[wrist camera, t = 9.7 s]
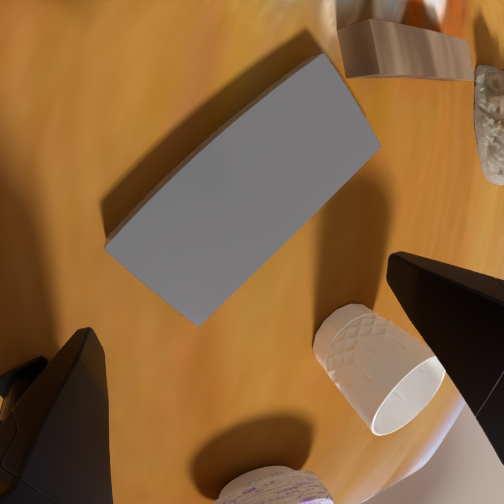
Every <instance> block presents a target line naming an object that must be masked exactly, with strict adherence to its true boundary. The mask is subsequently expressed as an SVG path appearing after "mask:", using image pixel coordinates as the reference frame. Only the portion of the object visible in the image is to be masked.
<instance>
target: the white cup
mask: <svg viewBox="0 0 504 504" xmlns="http://www.w3.org/2000/svg"><path fill="white" fill-rule="evenodd" d="M313 351H314V354H315V356H316V359H317V360H318V362H319V363H320V364H321V365H322V367H323V368H324V369H325V370H326V372H327V373H328V375H329V377H330V378H331V380H332V381H333V382H334V384H335V385H336V386H337V387H338V389H339V390H340V392H341V393H342V394H343V396H344V397H345V398H346V400H347V401H348V402H349V403H350V405H351V406H352V407H353V408H354V410H355V411H356V412H357V413H358V415H359V416H360V417H361V418H362V420H363V421H364V422H365V423H366V425H367V426H368V427H369V428H370V430H371V431H372V432H373V433H374V434H375V435H386V434H389V433H392V432H394V431H396V430H398V429H399V428H401V427H403V426H404V425H405V424H407V423H408V422H409V421H411V420H412V419H413V418H414V417H415V416H416V415H417V414H419V413H420V412H421V411H422V409H423V408H424V407H425V406H426V405H427V404H428V403H429V401H430V400H431V399H432V397H433V396H434V395H435V393H436V392H437V390H438V388H439V386H440V385H441V383H442V380H443V378H444V375H445V372H446V371H445V369H444V368H443V366H442V365H441V363H440V362H439V360H438V359H437V357H436V356H435V355H434V353H433V352H432V350H431V349H430V347H429V346H428V345H426V344H425V343H423V342H422V341H420V340H419V339H417V338H416V337H414V336H413V335H411V334H410V333H408V332H407V331H405V330H404V329H402V328H400V327H399V326H397V325H395V324H394V323H392V322H391V321H389V320H388V319H385V318H383V317H381V316H379V315H378V314H376V313H375V312H373V311H372V310H370V309H369V308H367V307H366V306H364V305H362V304H348V305H346V306H343V307H341V308H338V309H337V310H335V311H334V312H333V313H332V314H331V315H330V316H329V317H327V318H326V319H325V320H324V321H323V323H322V325H321V326H320V328H319V330H318V331H317V333H316V335H315V339H314V344H313Z"/></svg>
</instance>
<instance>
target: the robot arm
mask: <svg viewBox="0 0 504 504" xmlns="http://www.w3.org/2000/svg"><path fill="white" fill-rule="evenodd" d="M386 279H387V282H388V285H389V286H390V288H391V289H392V291H393V293H394V294H395V296H396V298H397V299H398V301H399V303H400V304H401V306H402V308H403V309H404V311H405V313H406V314H407V316H408V318H409V319H410V321H411V322H412V324H413V325H414V326H415V328H416V329H417V331H418V332H419V333H420V335H421V336H422V337H423V339H424V340H425V342H426V343H427V345H428V346H429V347H430V349H431V350H432V352H433V353H434V355H435V356H436V357H437V359H438V360H439V362H440V363H441V365H442V366H443V368H444V369H445V371H446V372H447V374H448V375H449V377H450V378H451V380H452V381H453V383H454V384H455V386H456V387H457V389H458V390H459V392H460V393H461V395H462V397H463V398H464V400H465V401H466V403H467V404H468V406H469V408H470V409H471V411H472V412H473V414H474V416H476V419H477V421H478V422H479V424H480V426H481V427H482V429H483V431H484V432H485V434H486V436H487V438H488V439H489V441H490V443H491V445H492V446H493V448H494V450H495V452H496V453H497V455H498V457H499V459H500V461H501V462H502V464H503V465H504V280H501V279H498V278H496V279H495V278H494V277H491V276H488V275H485V274H481V273H478V272H474V271H471V270H467V269H464V268H461V267H457V266H454V265H450V264H447V263H443V262H439V261H436V260H432V259H429V258H425V257H421V256H418V255H414V254H410V253H407V252H403V251H399V252H396V253H392V254H391V255H390V256H389V258H388V266H387V274H386ZM40 363H43V364H44V365H42V364H40ZM0 396H1V397H2V398H3V402H2V405H1V409H0V504H113V496H112V485H111V471H110V452H109V400H108V389H107V378H106V365H105V354H104V350H103V348H102V346H101V344H100V342H99V340H98V338H97V336H96V334H95V332H94V330H93V329H92V328H90V327H87V328H82V329H78V330H77V331H76V332H75V333H74V334H73V335H72V337H71V338H70V339H69V340H68V341H67V342H66V344H65V345H64V346H63V347H62V348H61V349H60V351H59V352H58V353H57V354H56V355H55V356H54V358H53V359H52V360H51V361H50V362H48V361H47V360H46V359H45V358H43V357H38V358H36V359H34V360H32V361H30V362H28V363H26V364H24V365H22V366H20V367H18V368H16V369H14V370H12V371H10V372H8V373H6V374H4V375H2V376H0Z"/></svg>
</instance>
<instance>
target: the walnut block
mask: <svg viewBox="0 0 504 504" xmlns="http://www.w3.org/2000/svg"><path fill="white" fill-rule="evenodd" d="M337 33H338V38H339V43H340V48H341V53H342V58H343V63H344V68H345V74H346V79H348V78H405V79H426V80H440V81H475V80H474V73H473V67H472V61H471V55H470V50H469V44H468V41H467V40H464V39H461V38H457V37H454V36H450V35H447V34H443V33H439V32H435V31H431V30H427V29H423V28H418V27H414V26H409V25H404V24H399V23H393V22H387V21H381V20H374V19H367V20H364V21H361V22H358V23H355V24H352V25H349V26H346V27H343V28H340V29H338V30H337Z"/></svg>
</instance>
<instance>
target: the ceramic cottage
mask: <svg viewBox="0 0 504 504" xmlns="http://www.w3.org/2000/svg"><path fill="white" fill-rule="evenodd" d="M475 72H476V73H475V78H476V80H475V83H476V86H475V89H474V90H475V92H474V95H475V98H474V100H475V101H474V102H475V105H474V108H475V109H474V120H475V121H474V123H475V131H476V132H475V133H476V138H477V143H478V145H477V147H478V153H479V159H480V162H481V168H482V171H483V173H484V175H485V176H486V178H487V179H488V180H489V181H490V182H491V183H493V184H497V185H504V69H503V71H499V69H498V68H496V67H494V66H487V65H479V66H478V67H477V68H476V70H475Z"/></svg>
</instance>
